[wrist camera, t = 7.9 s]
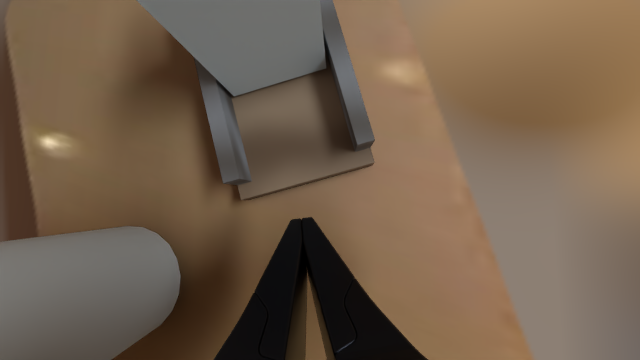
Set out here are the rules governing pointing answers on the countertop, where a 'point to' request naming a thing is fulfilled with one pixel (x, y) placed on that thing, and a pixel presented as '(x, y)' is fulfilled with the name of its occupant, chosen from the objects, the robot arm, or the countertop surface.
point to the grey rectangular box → (247, 38)
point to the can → (84, 293)
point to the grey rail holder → (291, 123)
